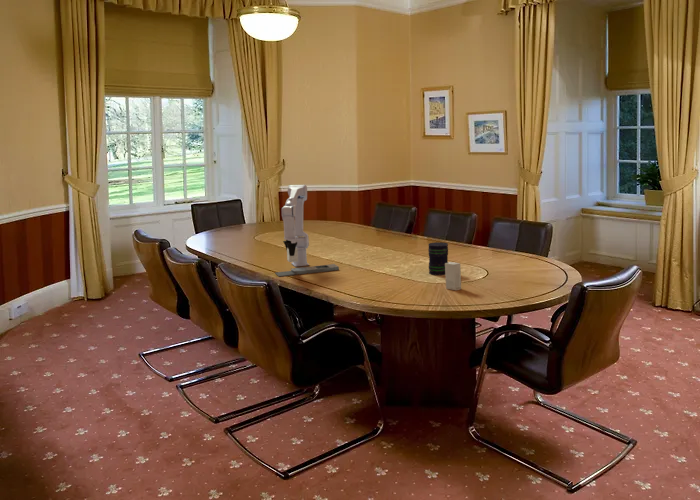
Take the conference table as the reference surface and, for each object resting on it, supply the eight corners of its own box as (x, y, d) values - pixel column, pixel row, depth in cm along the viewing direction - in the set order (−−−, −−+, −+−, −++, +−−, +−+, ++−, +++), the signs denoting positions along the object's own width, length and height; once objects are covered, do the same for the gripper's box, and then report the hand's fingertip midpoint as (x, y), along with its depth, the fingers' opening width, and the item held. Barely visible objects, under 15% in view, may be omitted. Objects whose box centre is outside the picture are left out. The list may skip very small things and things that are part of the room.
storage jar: (425, 272, 350) (425, 243, 348) (443, 270, 353) (442, 241, 350) (433, 276, 341) (433, 246, 338) (451, 274, 344) (451, 244, 341)
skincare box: (461, 289, 314) (461, 263, 312) (455, 290, 311) (455, 264, 309) (451, 286, 319) (450, 261, 316) (444, 288, 316) (444, 263, 313)
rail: (291, 271, 363) (290, 268, 363) (334, 267, 371) (334, 263, 370) (294, 275, 356) (294, 271, 356) (338, 270, 363) (338, 266, 363)
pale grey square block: (287, 260, 360) (286, 247, 358) (295, 259, 361) (295, 246, 360) (289, 262, 356) (288, 248, 354) (297, 261, 357) (297, 248, 356)
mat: (275, 273, 361) (274, 272, 361) (291, 271, 364) (291, 270, 364) (278, 276, 353) (278, 276, 353) (295, 275, 356) (295, 274, 355)
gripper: (300, 230, 349) (302, 256, 352) (293, 226, 363) (294, 251, 365) (287, 231, 347) (288, 257, 350) (280, 227, 361) (281, 253, 363)
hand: (290, 254), depth 357 cm, fingers closed on pale grey square block, 4 cm apart
